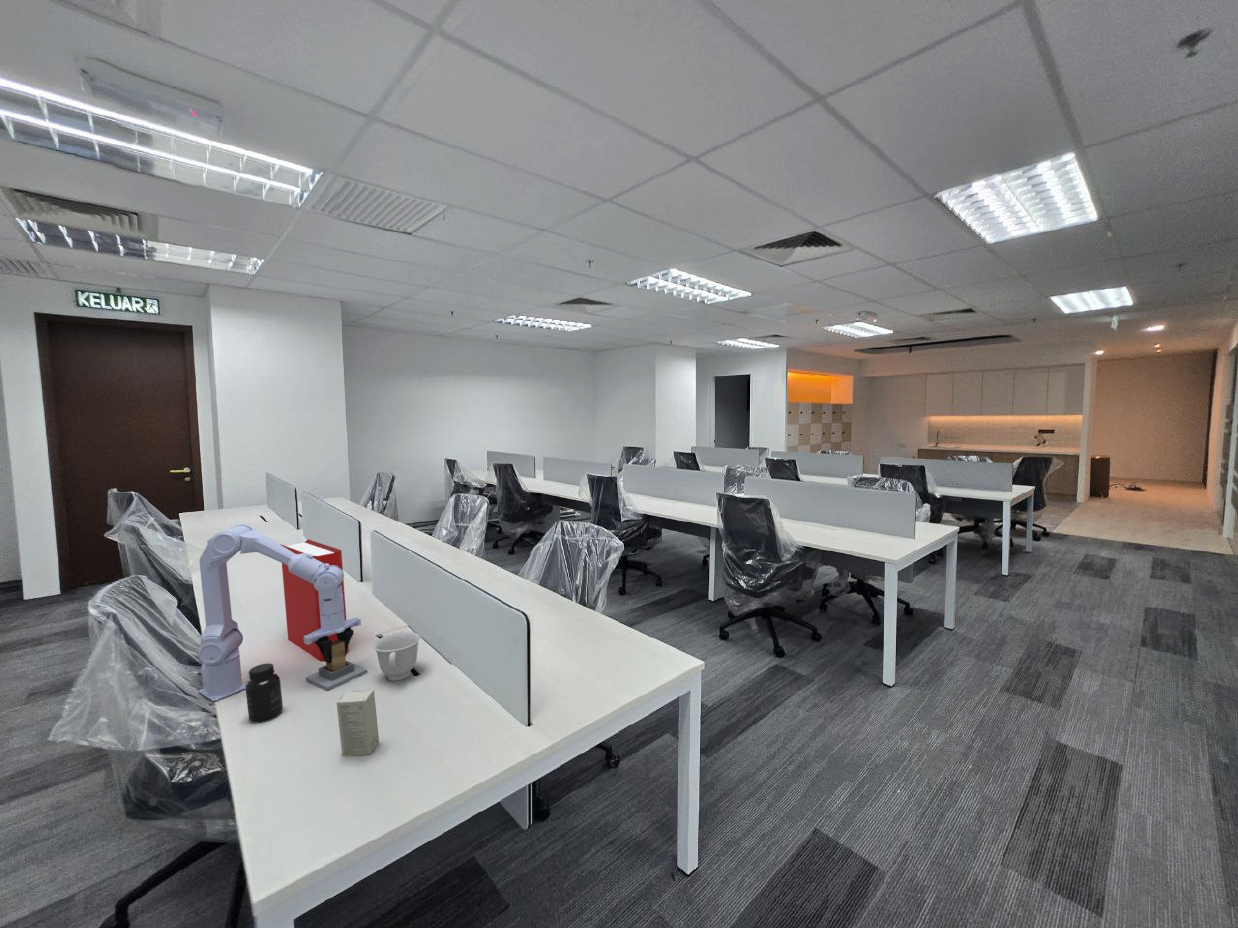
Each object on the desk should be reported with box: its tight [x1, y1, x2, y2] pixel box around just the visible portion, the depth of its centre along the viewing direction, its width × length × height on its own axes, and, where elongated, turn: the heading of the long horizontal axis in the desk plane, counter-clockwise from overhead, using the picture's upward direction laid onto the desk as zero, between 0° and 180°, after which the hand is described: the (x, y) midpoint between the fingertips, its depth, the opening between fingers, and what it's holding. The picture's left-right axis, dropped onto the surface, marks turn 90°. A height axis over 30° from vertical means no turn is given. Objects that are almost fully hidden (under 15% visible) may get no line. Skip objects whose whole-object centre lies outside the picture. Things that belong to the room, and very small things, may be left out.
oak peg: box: [325, 639, 347, 671], centre depth 138 cm, size 4×4×7 cm
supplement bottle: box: [244, 663, 284, 723], centre depth 120 cm, size 7×7×12 cm
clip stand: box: [305, 660, 368, 692], centre depth 138 cm, size 11×11×3 cm
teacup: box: [372, 631, 421, 681], centre depth 136 cm, size 12×15×10 cm
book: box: [280, 539, 350, 663], centre depth 157 cm, size 27×8×32 cm, turn 52°
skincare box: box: [336, 689, 380, 757], centre depth 106 cm, size 6×4×12 cm
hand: (335, 659), depth 138 cm, fingers closed on oak peg, 3 cm apart
